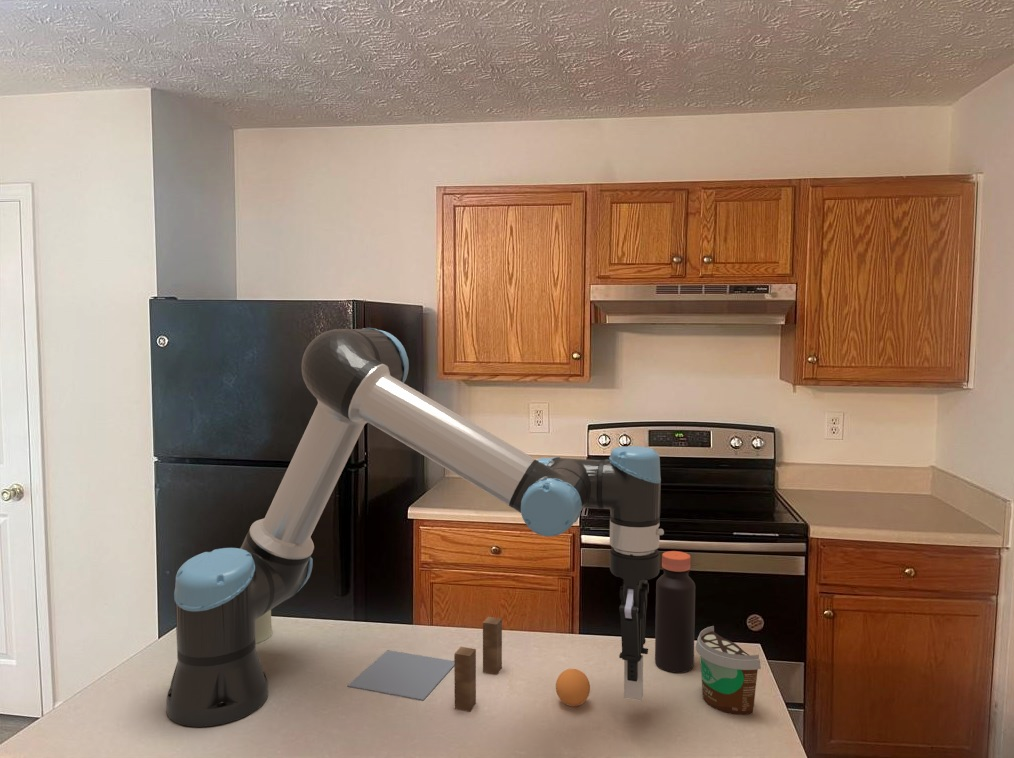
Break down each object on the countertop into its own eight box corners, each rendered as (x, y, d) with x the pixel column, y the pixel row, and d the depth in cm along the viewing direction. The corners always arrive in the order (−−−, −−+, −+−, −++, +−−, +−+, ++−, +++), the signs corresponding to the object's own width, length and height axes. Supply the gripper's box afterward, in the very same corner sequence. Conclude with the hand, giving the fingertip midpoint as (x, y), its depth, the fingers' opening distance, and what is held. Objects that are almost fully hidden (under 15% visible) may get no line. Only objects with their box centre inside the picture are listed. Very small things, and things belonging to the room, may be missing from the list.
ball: (551, 709, 113) (551, 675, 113) (560, 692, 119) (560, 660, 118) (585, 715, 112) (586, 681, 111) (593, 698, 117) (593, 665, 116)
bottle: (698, 673, 125) (700, 561, 124) (659, 673, 125) (661, 561, 124) (688, 655, 132) (690, 549, 130) (651, 655, 132) (653, 549, 130)
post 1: (454, 708, 113) (454, 653, 113) (460, 700, 116) (460, 646, 115) (469, 711, 113) (469, 656, 112) (475, 703, 115) (475, 649, 114)
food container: (679, 688, 120) (680, 630, 119) (710, 681, 122) (711, 624, 122) (726, 726, 109) (728, 662, 108) (759, 718, 111) (761, 655, 110)
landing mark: (347, 686, 120) (347, 685, 120) (387, 651, 134) (387, 650, 134) (423, 700, 116) (423, 699, 116) (457, 662, 129) (457, 661, 129)
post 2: (482, 672, 125) (482, 622, 125) (488, 665, 128) (488, 616, 127) (496, 674, 124) (496, 624, 124) (501, 668, 127) (501, 618, 126)
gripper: (653, 563, 103) (652, 722, 104) (664, 538, 115) (662, 681, 117) (602, 558, 105) (601, 714, 107) (617, 534, 117) (616, 674, 119)
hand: (633, 696), depth 112 cm, fingers closed
